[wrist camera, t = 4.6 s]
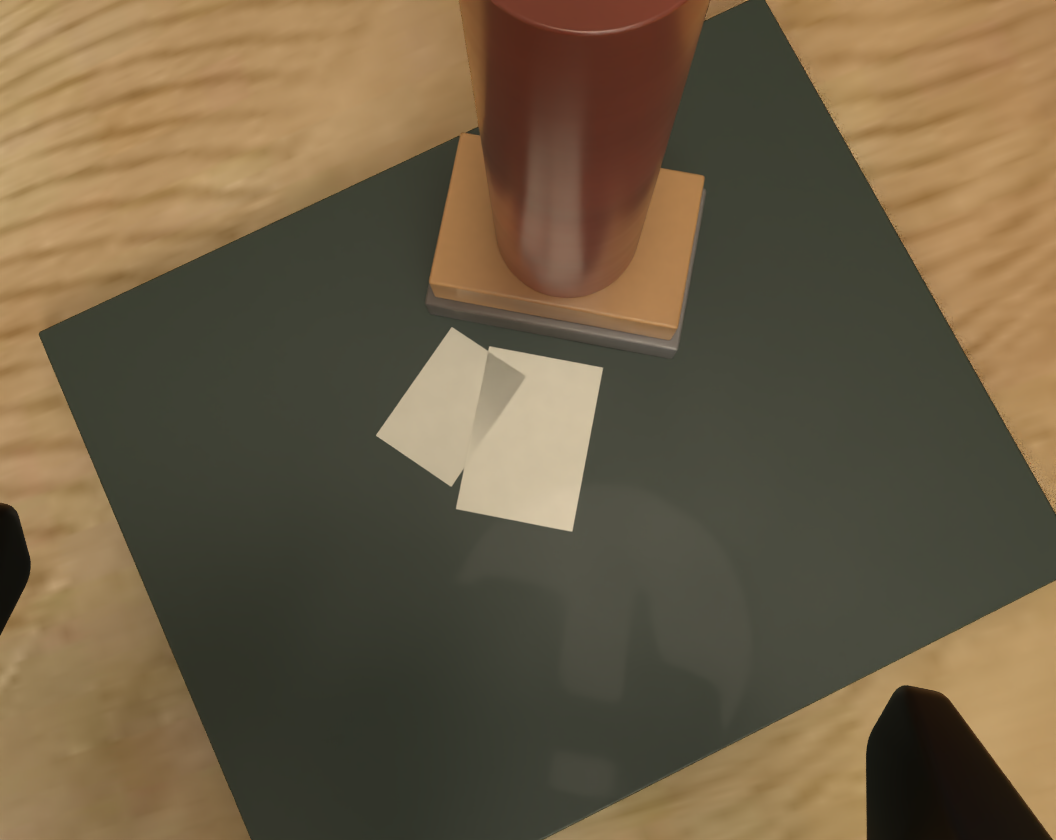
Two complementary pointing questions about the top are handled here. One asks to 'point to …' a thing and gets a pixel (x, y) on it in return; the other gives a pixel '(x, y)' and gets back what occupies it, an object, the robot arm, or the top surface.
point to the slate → (548, 487)
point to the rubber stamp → (573, 174)
